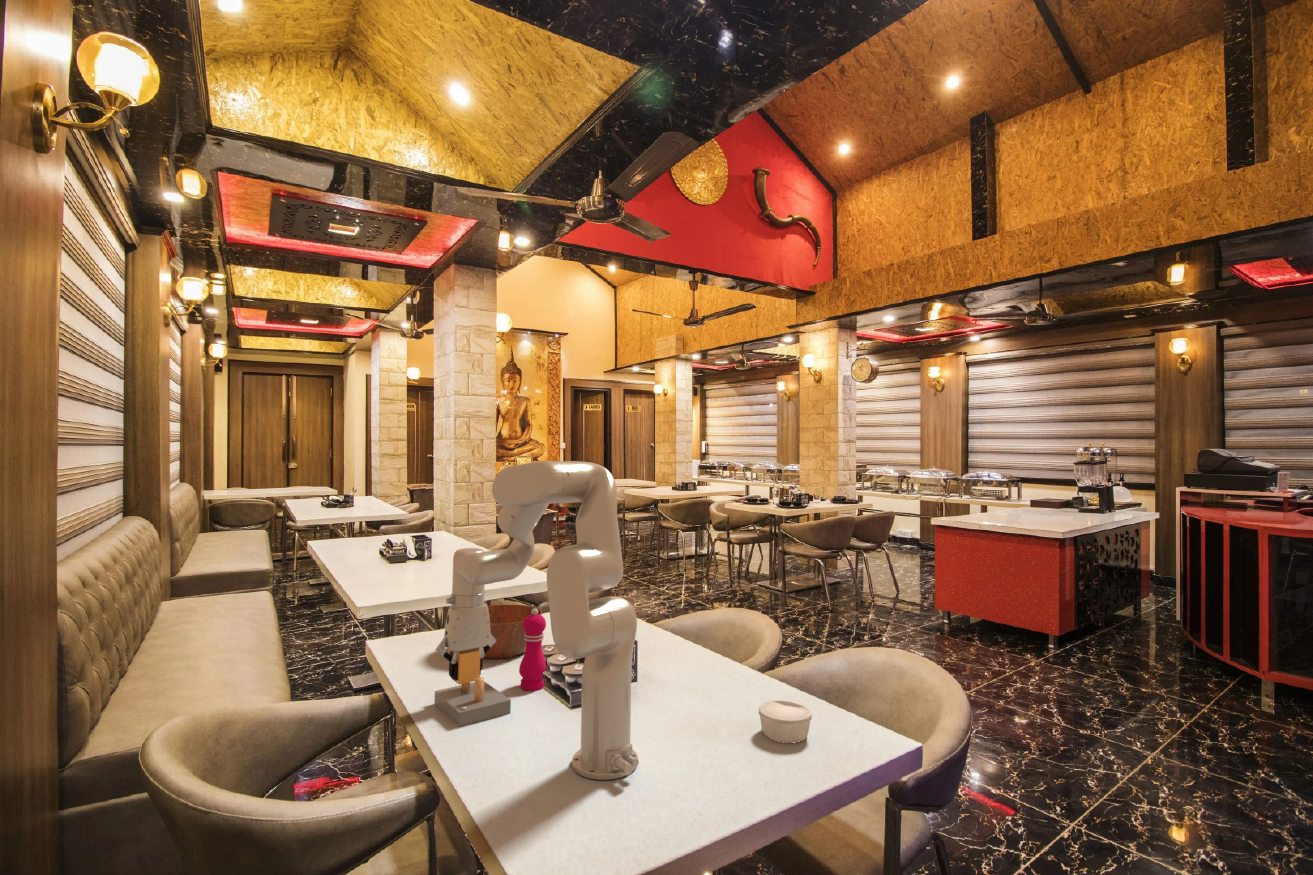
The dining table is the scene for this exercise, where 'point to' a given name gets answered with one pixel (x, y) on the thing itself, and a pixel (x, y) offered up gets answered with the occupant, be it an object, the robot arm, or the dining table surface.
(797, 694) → the dining table surface
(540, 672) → the pepper mill
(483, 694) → the peg board base
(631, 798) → the dining table surface
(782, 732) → the ramekin
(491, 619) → the bowl
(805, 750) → the dining table surface
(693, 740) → the dining table surface
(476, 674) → the upright wooden block
